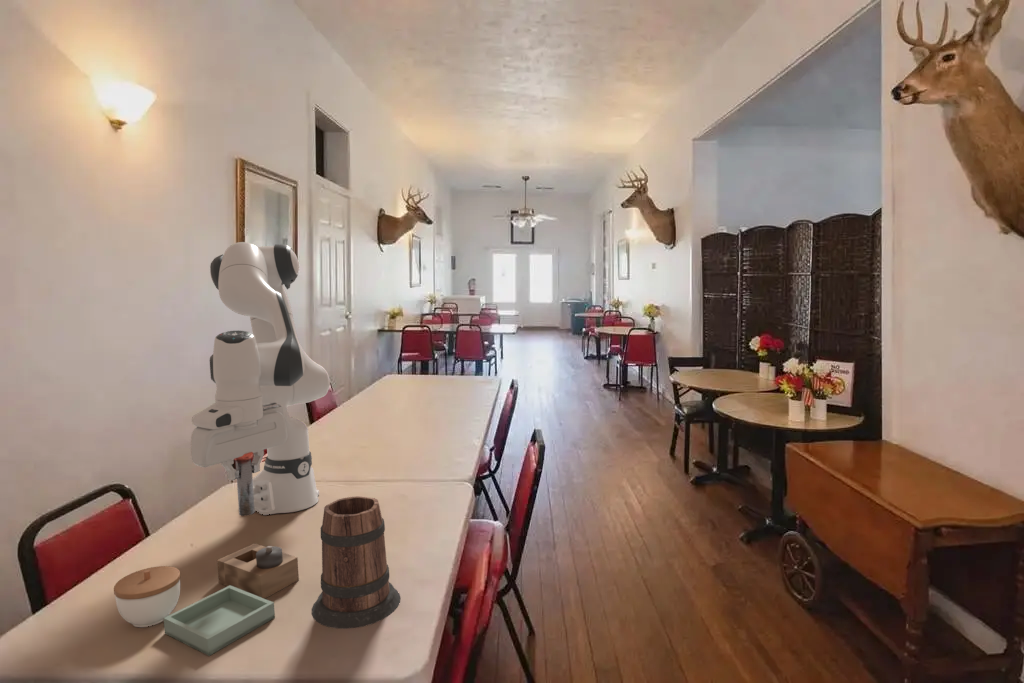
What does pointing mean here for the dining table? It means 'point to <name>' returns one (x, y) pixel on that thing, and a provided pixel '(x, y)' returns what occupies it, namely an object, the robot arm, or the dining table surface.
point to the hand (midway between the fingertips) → (244, 475)
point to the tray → (219, 619)
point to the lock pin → (245, 484)
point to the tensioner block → (258, 570)
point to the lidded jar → (148, 595)
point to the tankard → (354, 566)
